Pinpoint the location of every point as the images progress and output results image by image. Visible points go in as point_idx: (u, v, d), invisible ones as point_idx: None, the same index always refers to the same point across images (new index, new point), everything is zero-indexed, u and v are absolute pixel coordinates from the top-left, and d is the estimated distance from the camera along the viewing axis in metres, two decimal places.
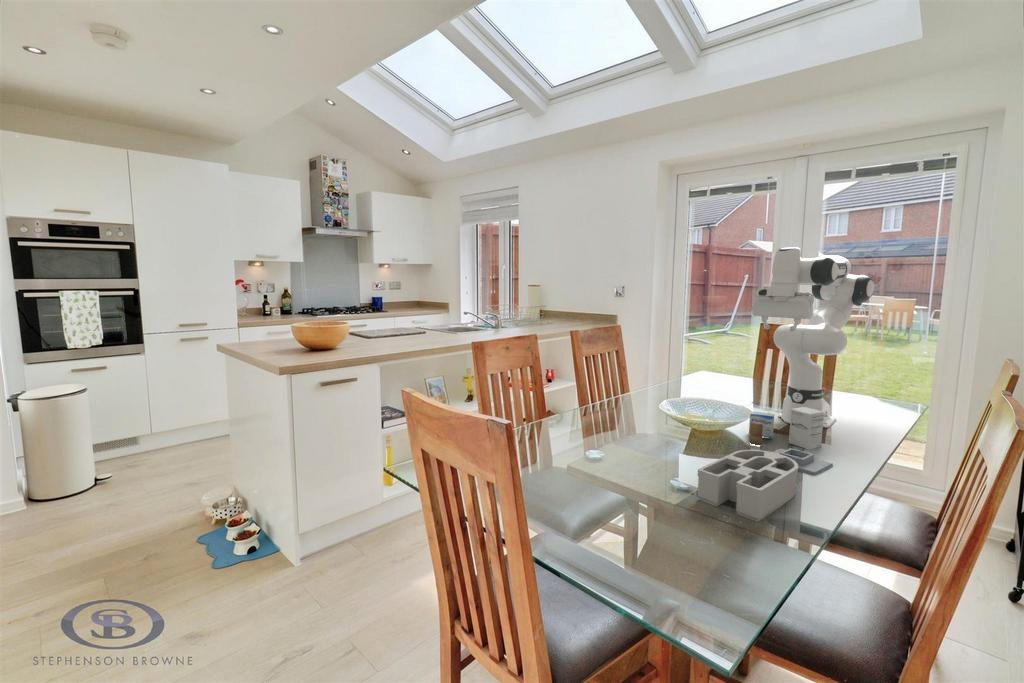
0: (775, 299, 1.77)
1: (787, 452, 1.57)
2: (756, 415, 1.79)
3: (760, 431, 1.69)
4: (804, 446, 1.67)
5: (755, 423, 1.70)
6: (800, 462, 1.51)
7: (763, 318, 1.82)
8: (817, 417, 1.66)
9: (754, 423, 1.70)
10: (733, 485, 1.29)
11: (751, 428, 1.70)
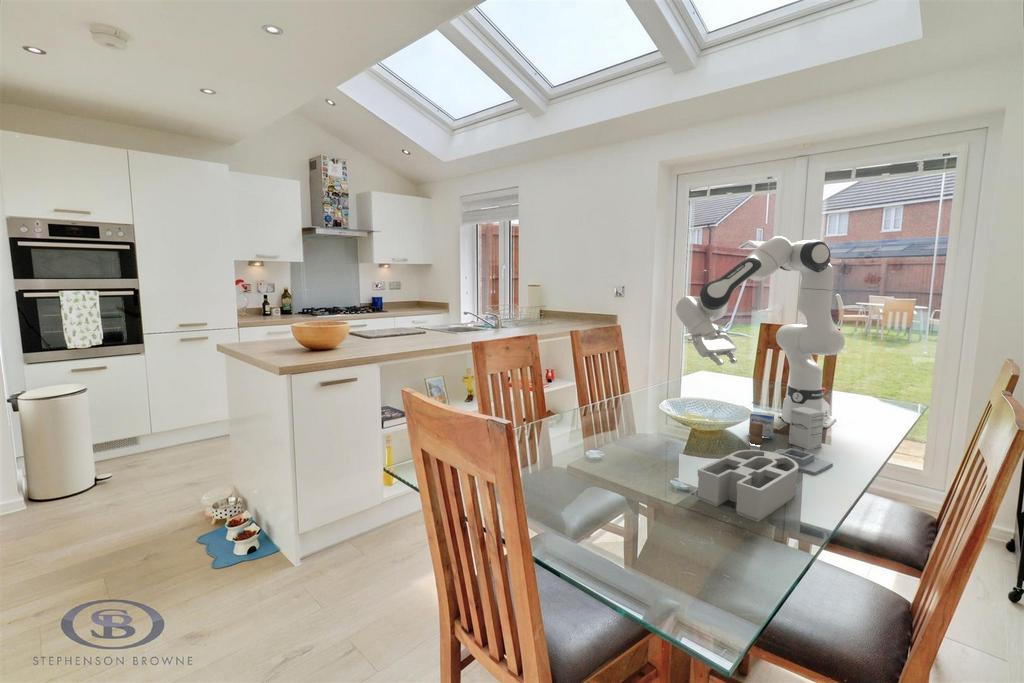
0: None
1: (787, 452, 1.57)
2: (756, 415, 1.79)
3: (760, 431, 1.69)
4: (804, 446, 1.67)
5: (755, 423, 1.70)
6: (800, 462, 1.51)
7: None
8: (817, 417, 1.66)
9: (754, 423, 1.70)
10: (733, 485, 1.29)
11: (751, 428, 1.70)
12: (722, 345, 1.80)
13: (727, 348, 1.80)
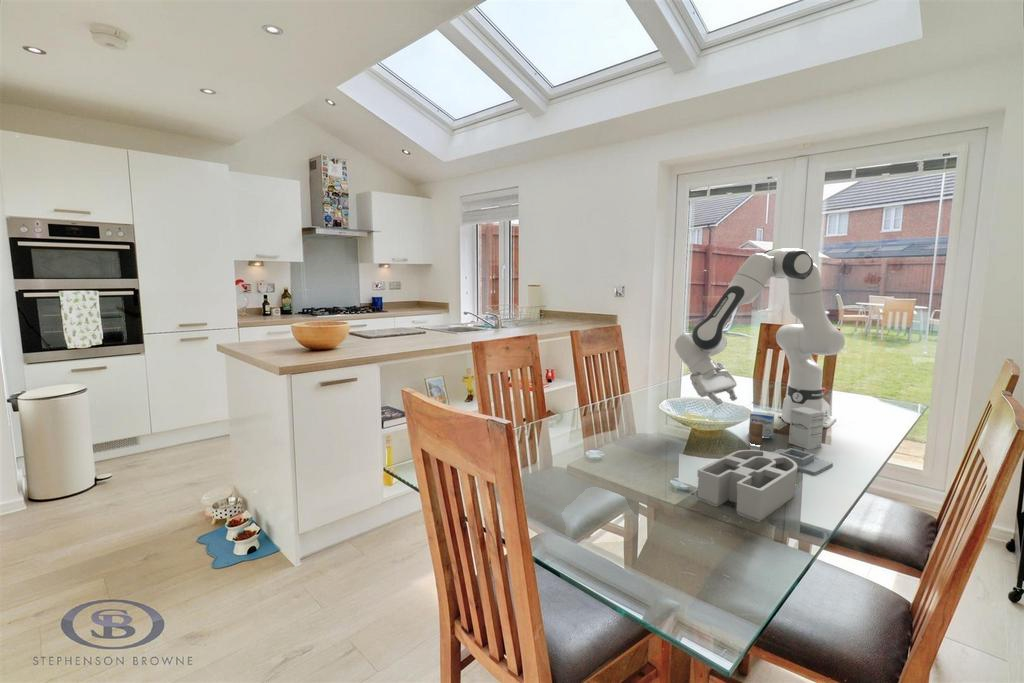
0: None
1: (787, 452, 1.57)
2: (756, 415, 1.79)
3: (760, 431, 1.69)
4: (804, 446, 1.67)
5: (755, 423, 1.70)
6: (800, 462, 1.51)
7: None
8: (817, 417, 1.66)
9: (754, 423, 1.70)
10: (733, 486, 1.29)
11: (751, 428, 1.70)
12: (721, 383, 1.81)
13: (727, 385, 1.82)
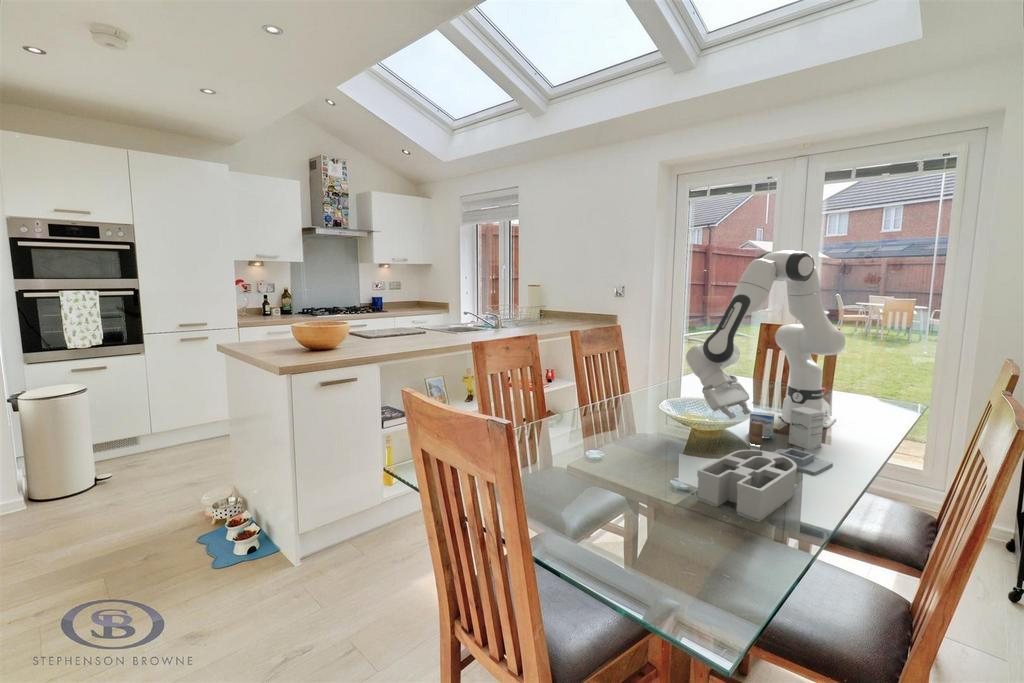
0: None
1: (787, 452, 1.57)
2: (756, 415, 1.79)
3: (760, 431, 1.69)
4: (804, 446, 1.67)
5: (755, 423, 1.70)
6: (800, 462, 1.51)
7: None
8: (817, 417, 1.66)
9: (754, 423, 1.70)
10: (732, 486, 1.29)
11: (751, 428, 1.70)
12: (734, 396, 1.77)
13: (740, 399, 1.78)
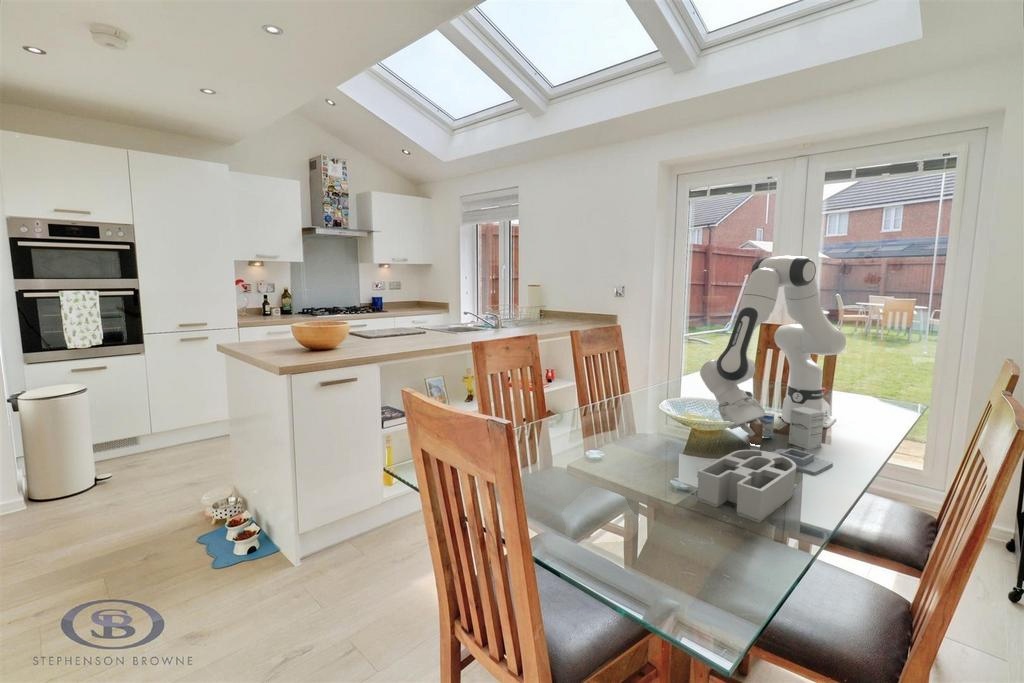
0: None
1: (787, 452, 1.57)
2: None
3: (760, 431, 1.69)
4: (804, 446, 1.67)
5: (755, 423, 1.70)
6: (800, 462, 1.51)
7: None
8: (817, 417, 1.66)
9: (754, 423, 1.70)
10: (732, 486, 1.29)
11: (751, 428, 1.70)
12: (750, 413, 1.73)
13: (756, 416, 1.73)
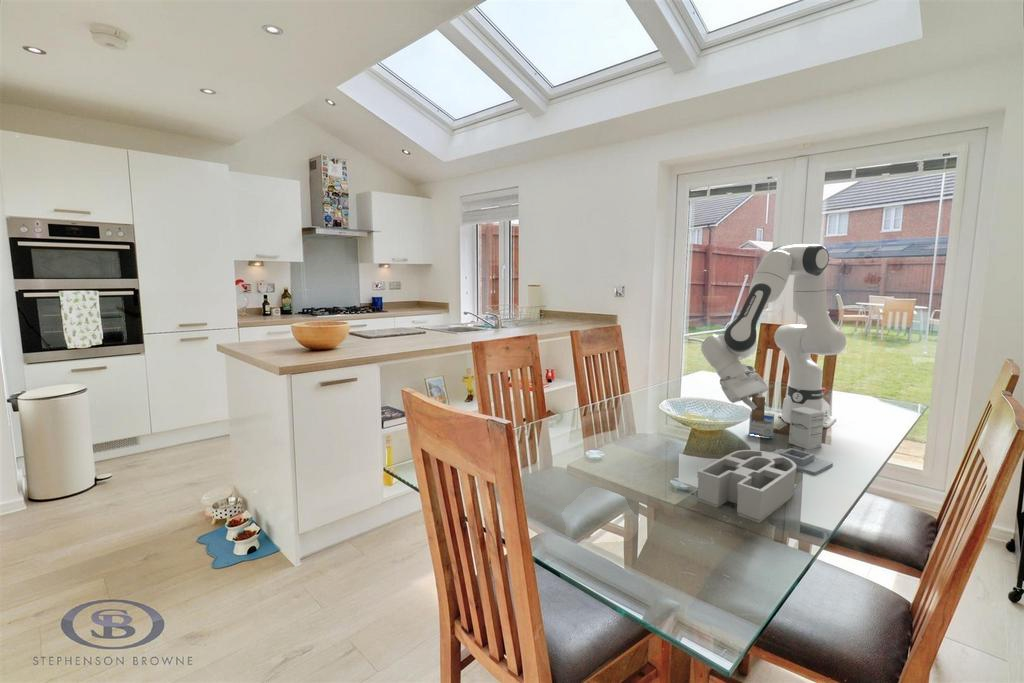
0: None
1: (787, 452, 1.57)
2: None
3: (762, 404, 1.67)
4: (804, 446, 1.67)
5: (757, 396, 1.69)
6: (800, 462, 1.51)
7: None
8: (817, 417, 1.66)
9: (756, 396, 1.69)
10: (733, 486, 1.28)
11: None
12: (752, 387, 1.72)
13: (758, 389, 1.72)
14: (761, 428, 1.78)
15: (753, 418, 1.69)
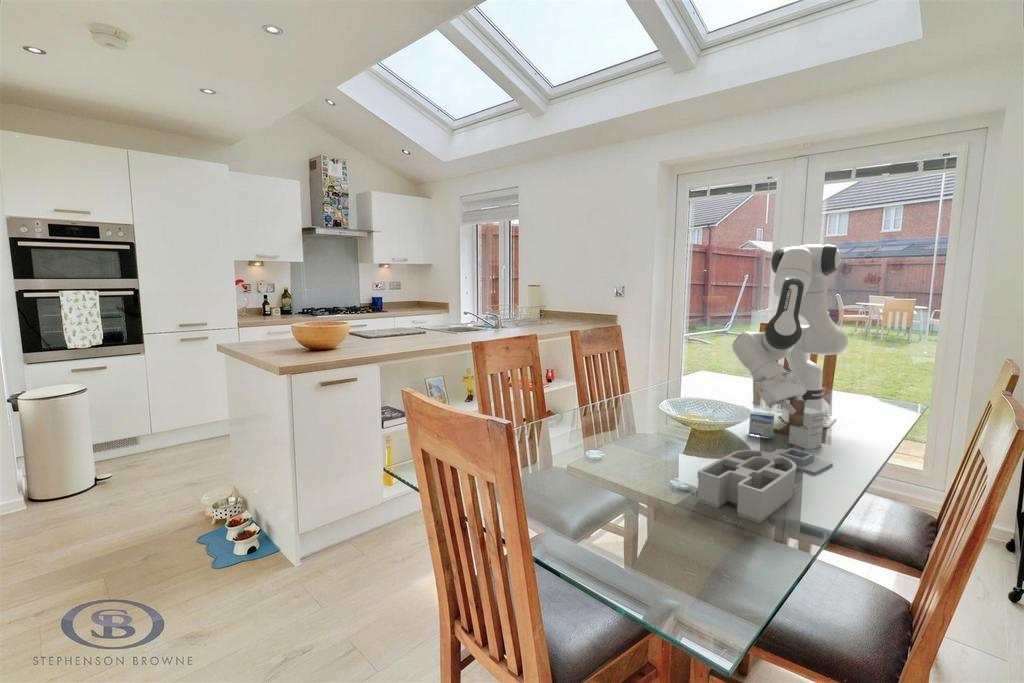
0: None
1: (787, 452, 1.57)
2: (756, 415, 1.79)
3: (802, 408, 1.52)
4: (804, 446, 1.67)
5: (796, 400, 1.53)
6: (800, 462, 1.51)
7: None
8: (817, 417, 1.66)
9: (795, 400, 1.53)
10: (733, 486, 1.28)
11: None
12: (790, 389, 1.56)
13: (797, 392, 1.57)
14: (761, 428, 1.78)
15: (791, 423, 1.54)
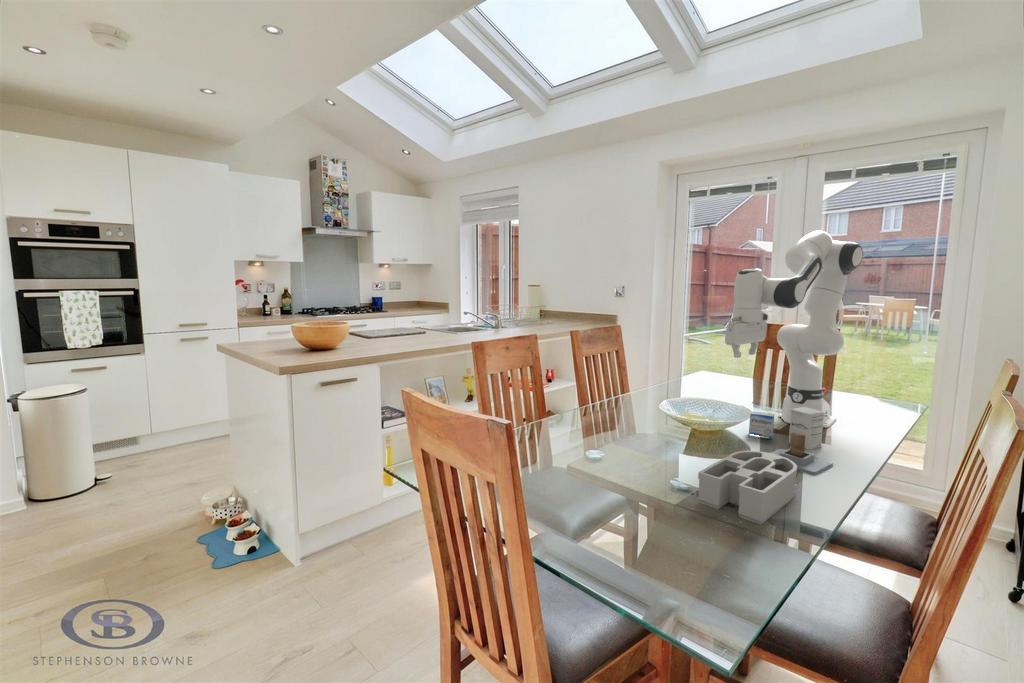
0: None
1: (787, 452, 1.57)
2: (756, 415, 1.79)
3: (802, 443, 1.53)
4: None
5: (797, 434, 1.54)
6: (800, 462, 1.51)
7: None
8: (817, 417, 1.66)
9: (795, 434, 1.54)
10: (734, 488, 1.28)
11: (792, 440, 1.54)
12: (752, 336, 1.69)
13: (755, 340, 1.70)
14: (761, 428, 1.78)
15: None
